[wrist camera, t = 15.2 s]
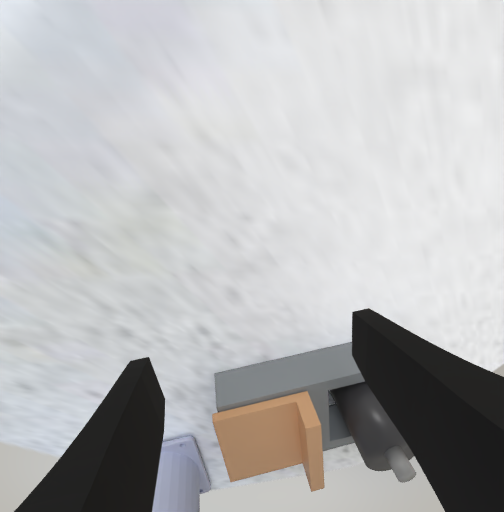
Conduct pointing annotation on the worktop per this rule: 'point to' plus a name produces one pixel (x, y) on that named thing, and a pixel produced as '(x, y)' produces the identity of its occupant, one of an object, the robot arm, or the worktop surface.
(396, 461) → the plug
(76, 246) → the worktop surface
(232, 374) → the socket block
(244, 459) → the tan l-shaped bracket
